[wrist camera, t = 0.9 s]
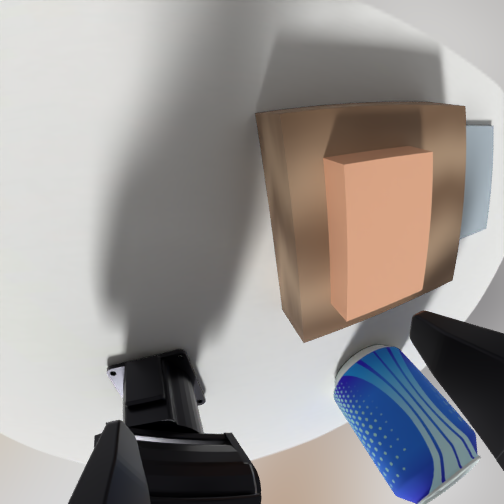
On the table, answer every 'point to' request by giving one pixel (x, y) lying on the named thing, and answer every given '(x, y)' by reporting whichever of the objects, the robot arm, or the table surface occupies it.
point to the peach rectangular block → (377, 226)
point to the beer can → (404, 424)
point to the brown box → (315, 204)
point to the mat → (477, 178)
